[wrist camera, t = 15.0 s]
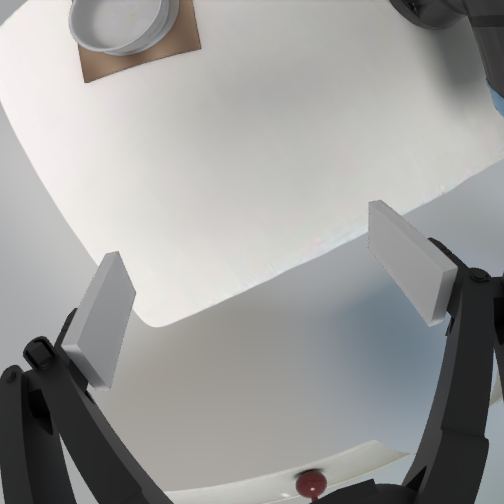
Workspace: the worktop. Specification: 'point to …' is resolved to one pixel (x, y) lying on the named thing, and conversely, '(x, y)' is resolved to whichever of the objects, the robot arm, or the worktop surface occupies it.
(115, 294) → the robot arm
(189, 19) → the walnut board
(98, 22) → the teacup
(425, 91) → the worktop surface
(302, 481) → the round-bottom flask
